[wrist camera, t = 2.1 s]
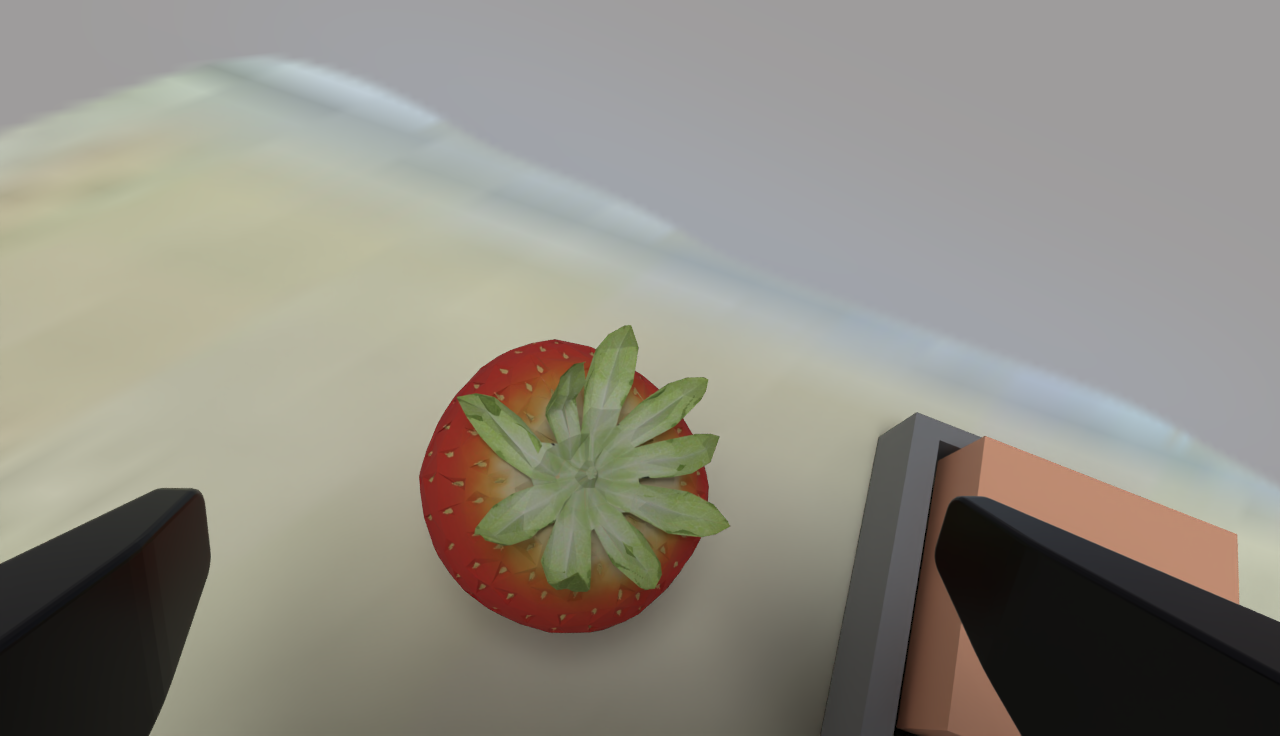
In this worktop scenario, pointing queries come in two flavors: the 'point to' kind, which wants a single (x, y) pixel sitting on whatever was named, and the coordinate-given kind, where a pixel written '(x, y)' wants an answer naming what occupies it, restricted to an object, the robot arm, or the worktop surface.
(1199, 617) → the robot arm
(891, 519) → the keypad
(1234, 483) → the worktop surface
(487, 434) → the fruit
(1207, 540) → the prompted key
